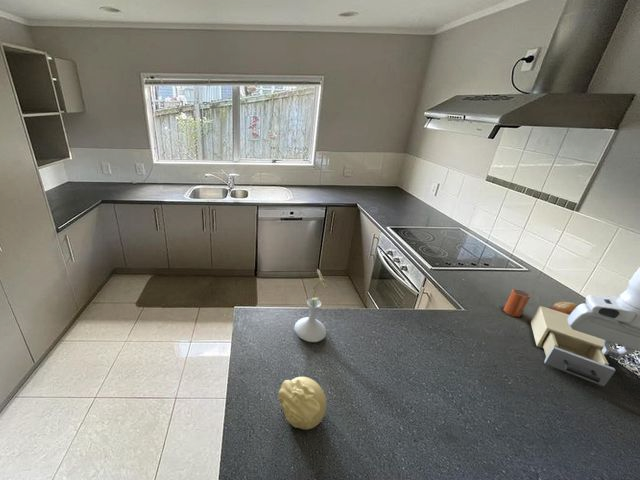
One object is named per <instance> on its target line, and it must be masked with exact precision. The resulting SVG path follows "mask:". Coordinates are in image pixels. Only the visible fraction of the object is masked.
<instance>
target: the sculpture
mask: <svg viewBox="0 0 640 480" xmlns="http://www.w3.org/2000/svg"><path fill="white" fill-rule="evenodd" d="M277 399H278V402H279V403H280V404H281V405H280V406H281V408H282V411H283V414H284V416H285V419H286V421H287V423H288V424H290V425H291V426H292V427H294V428H295V429H297V428H298V429H300V430H311V429H314V428H316V427H317V426H318V425H319V424H320V423H321V422H322V420H323V419H324V417H325V415H326V412H327V398H326V394H325V392H324V389H323V388H322V387H321V386H320V384H319V382H317V381H315V379H313V378H311V377H307V376H296V377H294V378H292V379H285V380H284V381H283V382H282V384H281V386H280V389H279V391H278V397H277Z"/></svg>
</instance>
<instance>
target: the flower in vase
mask: <svg viewBox="0 0 640 480" xmlns="http://www.w3.org/2000/svg"><path fill="white" fill-rule="evenodd" d="M316 272H317V275H318V277H319V280H318V281H317V283H316V284H315V286H312V291H313V293H312V295H313V296H312V298H308V299H307V300H306V304H307V305H308V308H309V312H308V313H309V314H308V317H307V316H306V317H302V318H300V319H298V320H297V321H296V322H295V324H294V332H295V334H296V335H297V336H298V337H299V338H300V339H301V340H303V341H306V342H308V343H318V342H321V341H322V340H324V339H325V337H326V336H327V329H326V327H325V325H324V324H323V323H322V322H321V321H320V320H318V319H317V318H316V315H317V312H318V309H320V308H321V306H322V302H321V301H320V300H319V299H320V297H319V296H316V297H315V294H317V293H316V292H317V291H316V288H317V286H318V285H319V283H322V285H323V287H324V289H325V290H326V292H329V286H328V285H327V282H326V280H325V278H324V277H323V274H322V273H321V270H320V269H316Z"/></svg>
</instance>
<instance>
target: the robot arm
mask: <svg viewBox="0 0 640 480" xmlns="http://www.w3.org/2000/svg"><path fill="white" fill-rule="evenodd" d="M577 305H578V306H577V307H576V308H575V309H574V310H573V311H572V313H571V314H570V315H569V317H568V319H567V322H568V324H569V326H570V327H571V328H572V329H573V330H576V331H579V332H582V333H585V334H588V335H591V336H594V337H597V338H600V339H602V340H603V343H604V348H603V349H602V353H603V354H605V355H604V356H608V357H611V358H614V359H617V360H621V359H622V358H623V356H627V355H631V354H634V353H635V351H636V352H639V353H640V266H639V267H638V268H637V270H636V271H635V272H634V274H633V275H632V276H631V277H630V279H629V281H628V282H627V288H626V290H624V291H622V292H621V293H620V294H619V295H618V296H605V295H591V294H590V295H587V296H586V298H585V302H584V303H583V302H582V303H579V304H577ZM614 344H616V345H619V346H621V348H618V349H616V348H614V347H613V348H612V347H610V346H613V345H614Z"/></svg>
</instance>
